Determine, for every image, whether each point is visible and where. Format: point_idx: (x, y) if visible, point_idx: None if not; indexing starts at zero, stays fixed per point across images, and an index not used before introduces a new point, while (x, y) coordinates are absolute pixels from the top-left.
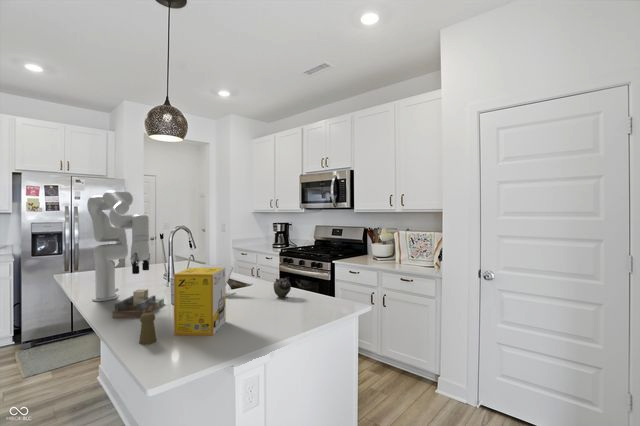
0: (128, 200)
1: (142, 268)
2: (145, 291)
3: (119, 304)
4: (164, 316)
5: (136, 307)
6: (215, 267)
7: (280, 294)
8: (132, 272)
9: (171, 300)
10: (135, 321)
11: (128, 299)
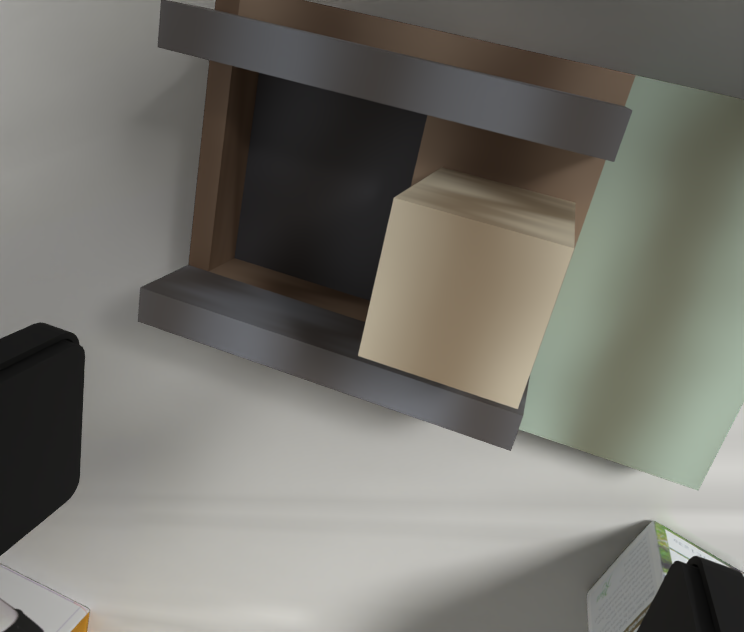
0: None
1: (695, 604)
2: (428, 372)
3: (202, 57)
4: (218, 463)
5: None
6: None
7: None
8: (19, 337)
9: (649, 549)
10: (125, 259)
11: (415, 110)
